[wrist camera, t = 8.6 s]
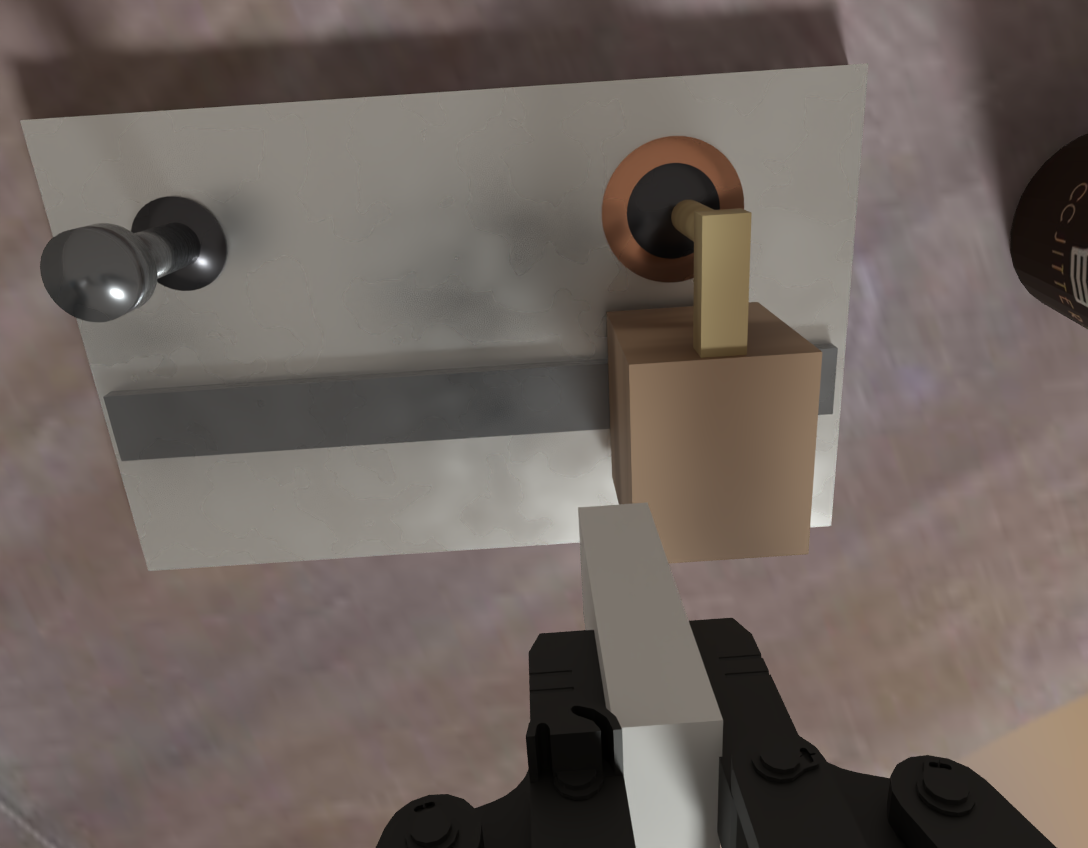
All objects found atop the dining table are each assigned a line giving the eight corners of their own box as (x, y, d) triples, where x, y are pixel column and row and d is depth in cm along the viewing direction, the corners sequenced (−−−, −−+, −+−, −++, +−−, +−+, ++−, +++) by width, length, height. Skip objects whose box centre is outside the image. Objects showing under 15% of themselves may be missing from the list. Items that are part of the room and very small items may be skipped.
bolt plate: (165, 550, 31) (66, 668, 24) (47, 120, 25) (-126, 119, 19) (817, 507, 31) (897, 614, 24) (849, 66, 25) (966, 47, 19)
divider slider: (611, 476, 28) (633, 565, 22) (602, 198, 24) (625, 222, 19) (751, 467, 28) (807, 554, 22) (761, 188, 24) (832, 208, 19)
